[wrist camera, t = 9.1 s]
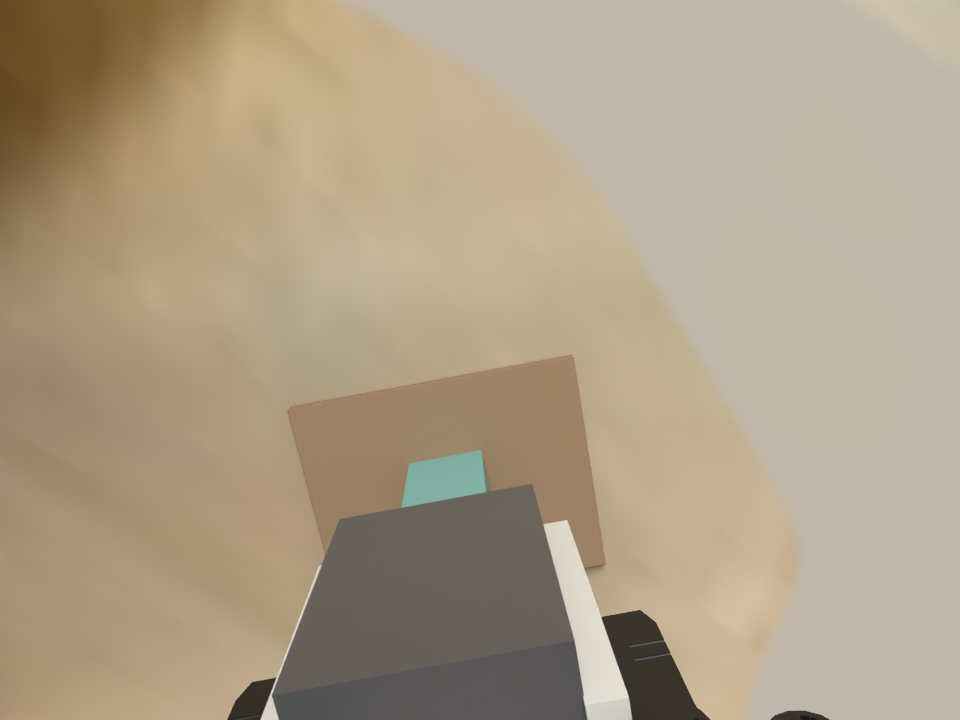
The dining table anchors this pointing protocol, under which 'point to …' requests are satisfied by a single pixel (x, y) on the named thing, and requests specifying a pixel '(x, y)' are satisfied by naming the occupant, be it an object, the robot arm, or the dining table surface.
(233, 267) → the dining table surface
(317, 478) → the teal post on base
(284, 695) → the charcoal cuboid
